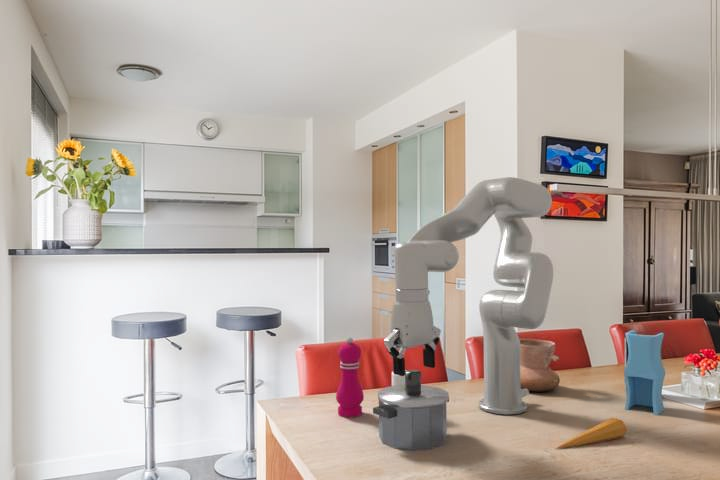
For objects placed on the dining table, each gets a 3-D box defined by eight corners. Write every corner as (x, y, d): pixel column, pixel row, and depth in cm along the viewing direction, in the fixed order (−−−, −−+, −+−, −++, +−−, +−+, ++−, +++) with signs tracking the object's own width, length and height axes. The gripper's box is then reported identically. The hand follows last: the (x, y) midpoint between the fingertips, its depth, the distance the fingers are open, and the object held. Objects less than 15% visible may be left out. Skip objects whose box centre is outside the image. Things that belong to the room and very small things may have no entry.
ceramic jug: (573, 391, 159) (573, 343, 159) (540, 398, 151) (540, 348, 151) (526, 378, 174) (526, 335, 174) (494, 385, 167) (493, 339, 167)
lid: (411, 391, 133) (410, 360, 133) (463, 404, 121) (462, 371, 121) (363, 404, 122) (363, 371, 122) (415, 420, 110) (415, 384, 110)
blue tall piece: (665, 408, 141) (664, 332, 142) (657, 415, 136) (656, 336, 136) (633, 402, 147) (632, 330, 147) (624, 409, 141) (623, 333, 141)
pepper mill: (360, 418, 135) (360, 339, 135) (333, 417, 136) (332, 339, 136) (366, 410, 142) (365, 335, 142) (339, 408, 143) (339, 334, 143)
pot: (419, 420, 133) (418, 384, 133) (465, 436, 122) (465, 396, 122) (359, 438, 121) (358, 398, 121) (404, 458, 109) (404, 414, 109)
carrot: (618, 436, 123) (610, 416, 124) (633, 435, 119) (625, 415, 120) (551, 460, 115) (544, 438, 116) (565, 459, 111) (557, 437, 112)
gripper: (426, 291, 130) (428, 361, 130) (372, 299, 119) (375, 375, 119) (449, 293, 124) (452, 366, 125) (395, 301, 113) (398, 381, 114)
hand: (414, 370), depth 122 cm, fingers open, 9 cm apart
